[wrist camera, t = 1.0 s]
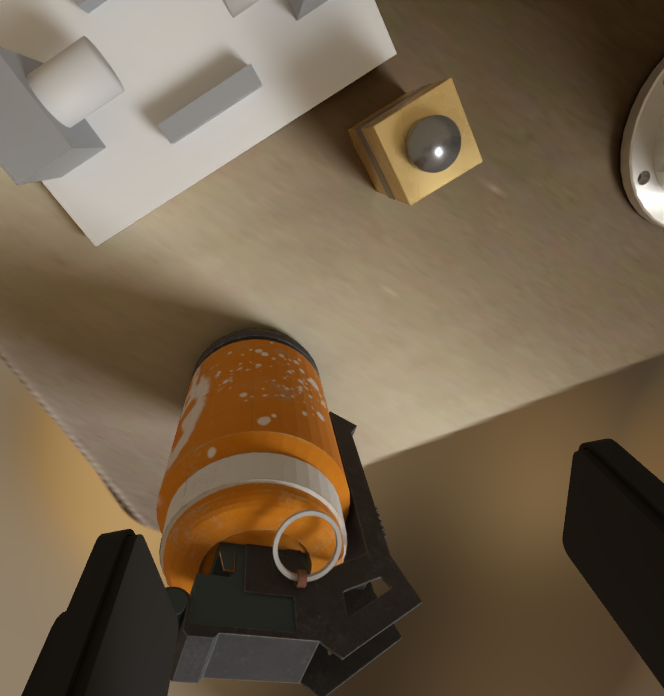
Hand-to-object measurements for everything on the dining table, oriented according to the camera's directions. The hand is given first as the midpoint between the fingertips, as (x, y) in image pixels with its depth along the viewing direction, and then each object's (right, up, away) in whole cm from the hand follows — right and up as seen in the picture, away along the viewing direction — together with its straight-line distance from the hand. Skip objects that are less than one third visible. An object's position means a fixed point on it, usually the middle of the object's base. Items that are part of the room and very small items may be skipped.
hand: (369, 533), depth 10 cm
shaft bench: (-9, +20, +14) cm, 26 cm away
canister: (-5, +1, +23) cm, 24 cm away
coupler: (+3, +16, +18) cm, 24 cm away
